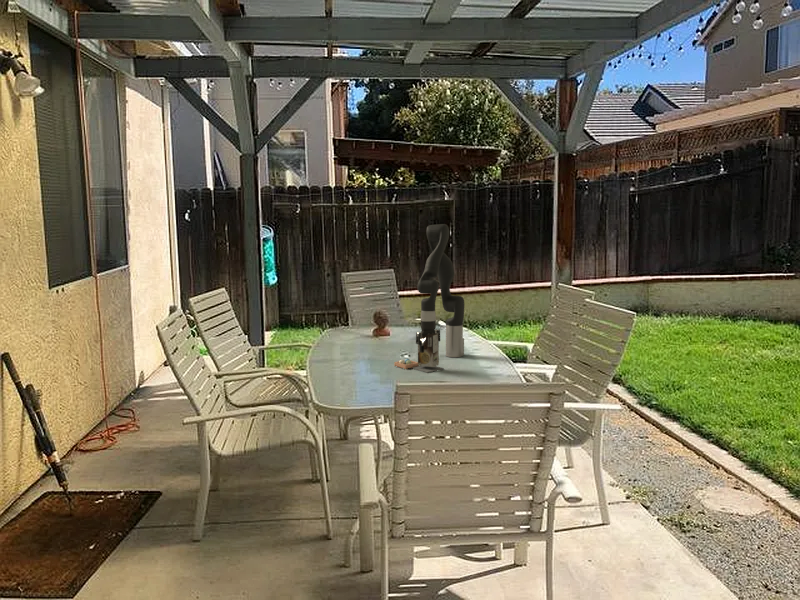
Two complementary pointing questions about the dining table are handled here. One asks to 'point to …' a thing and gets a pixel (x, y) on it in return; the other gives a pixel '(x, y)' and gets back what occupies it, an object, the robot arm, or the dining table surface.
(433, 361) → the coffee box
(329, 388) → the dining table surface
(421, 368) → the rubber mat
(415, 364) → the marble dish
